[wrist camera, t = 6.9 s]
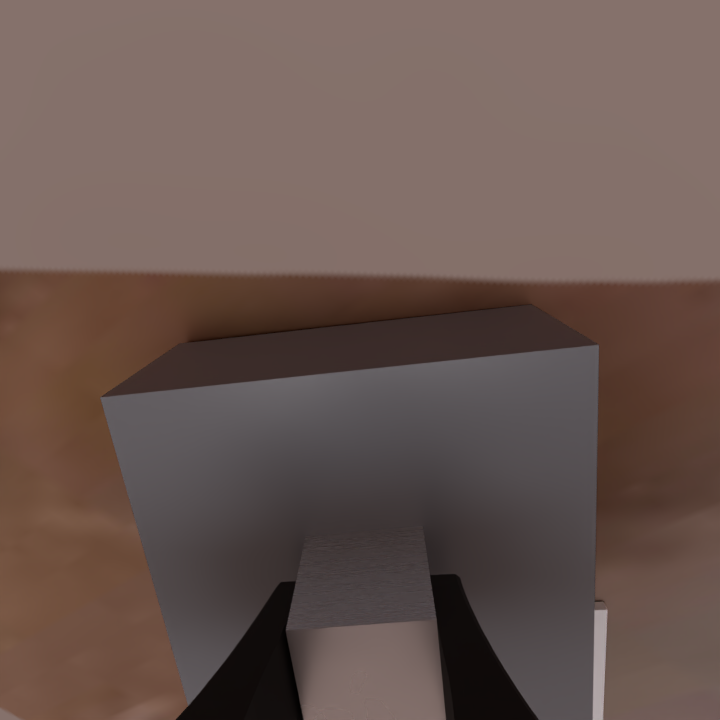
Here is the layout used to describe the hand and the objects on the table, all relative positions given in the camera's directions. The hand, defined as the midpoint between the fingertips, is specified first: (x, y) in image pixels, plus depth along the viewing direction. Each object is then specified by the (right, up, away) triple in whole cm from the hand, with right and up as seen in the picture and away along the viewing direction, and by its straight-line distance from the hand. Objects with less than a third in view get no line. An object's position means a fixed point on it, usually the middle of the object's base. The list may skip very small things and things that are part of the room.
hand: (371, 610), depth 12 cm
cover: (0, +2, +6) cm, 6 cm away
